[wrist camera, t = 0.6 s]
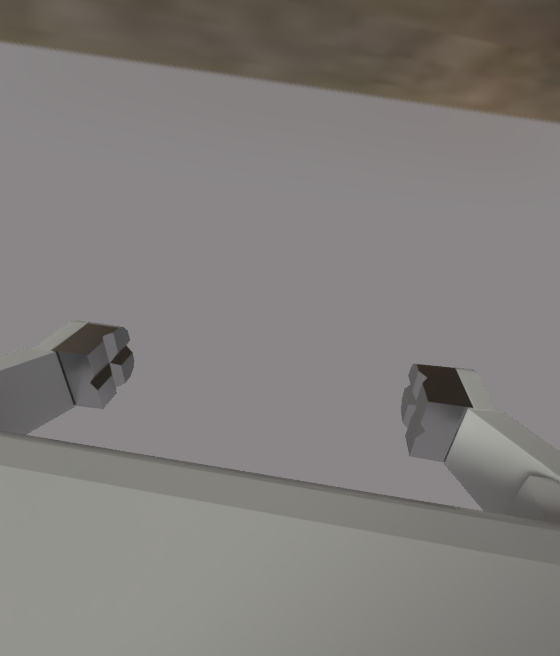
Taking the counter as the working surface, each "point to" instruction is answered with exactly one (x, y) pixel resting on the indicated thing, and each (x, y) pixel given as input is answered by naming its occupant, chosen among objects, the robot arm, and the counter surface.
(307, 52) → the counter surface
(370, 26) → the counter surface
